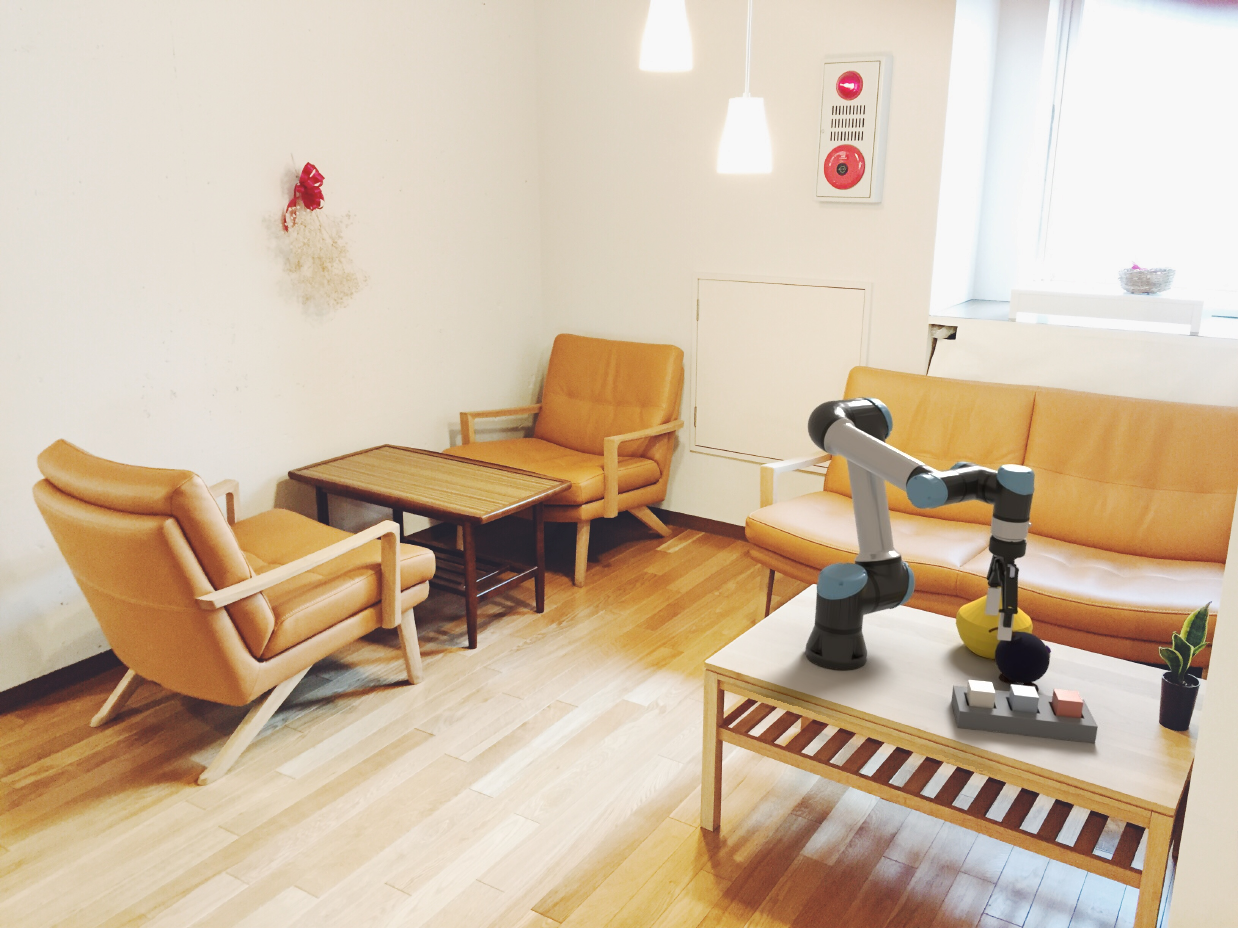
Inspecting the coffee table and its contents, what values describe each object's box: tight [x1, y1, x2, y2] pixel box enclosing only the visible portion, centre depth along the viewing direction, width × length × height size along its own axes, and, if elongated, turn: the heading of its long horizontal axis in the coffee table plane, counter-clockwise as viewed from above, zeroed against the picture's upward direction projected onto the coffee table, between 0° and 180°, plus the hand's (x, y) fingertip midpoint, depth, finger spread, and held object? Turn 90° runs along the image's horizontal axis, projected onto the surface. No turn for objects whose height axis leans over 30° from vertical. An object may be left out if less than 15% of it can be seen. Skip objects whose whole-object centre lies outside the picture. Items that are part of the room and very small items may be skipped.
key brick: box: [1051, 688, 1083, 718], centre depth 214 cm, size 5×5×4 cm
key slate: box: [1009, 683, 1039, 713], centre depth 216 cm, size 5×5×4 cm
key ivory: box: [966, 679, 996, 708], centre depth 218 cm, size 5×5×4 cm
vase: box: [955, 587, 1034, 660], centre depth 249 cm, size 18×18×19 cm
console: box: [951, 684, 1098, 744], centre depth 217 cm, size 28×12×4 cm, turn 78°
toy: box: [989, 627, 1052, 693], centre depth 232 cm, size 12×14×15 cm
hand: (997, 626), depth 218 cm, fingers open, 13 cm apart
